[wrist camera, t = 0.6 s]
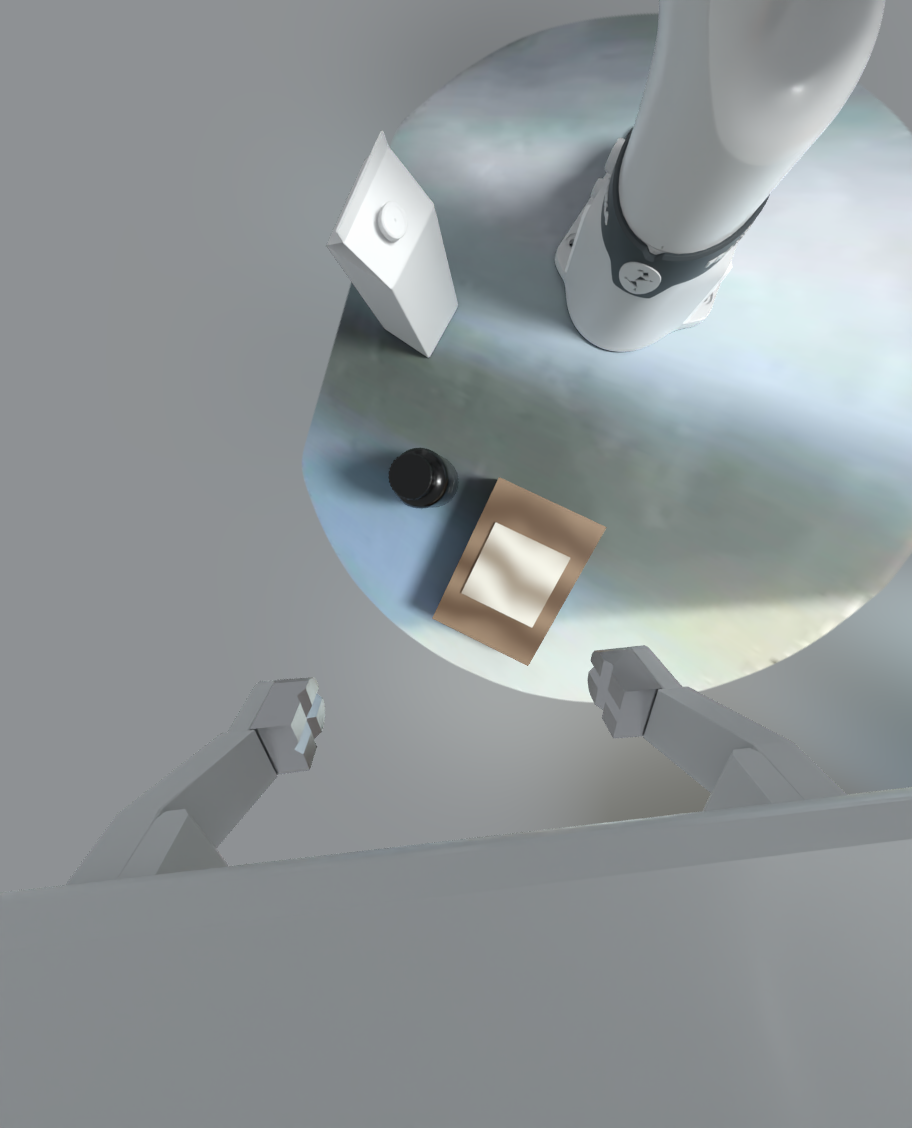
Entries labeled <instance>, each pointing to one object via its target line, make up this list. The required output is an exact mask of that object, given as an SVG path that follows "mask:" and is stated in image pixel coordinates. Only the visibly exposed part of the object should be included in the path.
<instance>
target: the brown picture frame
mask: <svg viewBox="0 0 912 1128" xmlns="http://www.w3.org/2000/svg"><path fill="white" fill-rule="evenodd" d="M606 528H607V527H605V526H603V525H600V524H598V523H596V522H594V521H592V520H590V519H588V518H585V517H583V516H581V515H579V514H577V513H575V512H573V511H570V510H568V509H566V508H564V507H562V506H560V505H558V504H555V503H553V502H551V501H549V500H547V499H545V498H543V497H540V496H538V495H536V494H534V493H532V492H530V491H528V490H525V489H523V488H521V487H519V486H517V485H515V484H513V483H510V482H508V481H506V480H504V479H502V478H500V477H499V478H498V480H497V482H496V485H495V487H494V489H493V491H492V493H491V495H490V497H489V499H488V501H487V504H486V506H485V508H484V510H483V512H482V514H481V516H480V518H479V521H478V523H477V525H476V527H475V529H474V531H473V533H472V535H471V537H470V540H469V542H468V544H467V546H466V548H465V550H464V552H463V554H462V557H461V559H460V561H459V563H458V565H457V567H456V569H455V571H454V573H453V576H452V578H451V580H450V582H449V584H448V586H447V588H446V590H445V593H444V595H443V597H442V599H441V601H440V603H439V605H438V607H437V609H436V612H435V614H434V616H433V618H432V619H434V620H436V621H438V622H440V623H443V624H445V625H447V626H449V627H451V628H453V629H455V630H457V631H459V632H461V633H463V634H465V635H467V636H469V637H471V638H473V639H475V640H477V641H479V642H481V643H483V644H485V645H487V646H489V647H491V648H493V649H495V650H497V651H499V652H501V653H503V654H505V655H507V656H509V657H511V658H513V659H515V660H517V661H519V662H521V663H523V664H525V665H527V666H528V665H529V664H530V662H531V660H532V658H533V657H534V655H535V653H536V651H537V649H538V648H539V646H540V644H541V642H542V641H543V639H544V637H545V635H546V634H547V632H548V630H549V628H550V626H551V625H552V623H553V621H554V619H555V618H556V616H557V614H558V612H559V611H560V609H561V607H562V605H563V604H564V602H565V600H566V598H567V596H568V595H569V593H570V591H571V589H572V588H573V586H574V584H575V582H576V581H577V579H578V577H579V575H580V573H581V572H582V570H583V568H584V566H585V565H586V563H587V561H588V559H589V558H590V556H591V554H592V552H593V550H594V549H595V547H596V545H597V543H598V542H599V540H600V538H601V536H602V535H603V533H604V531H605V529H606Z"/></svg>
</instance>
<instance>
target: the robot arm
mask: <svg viewBox="0 0 912 1128" xmlns="http://www.w3.org/2000/svg"><path fill="white" fill-rule="evenodd" d="M884 4H885V0H659V23H658V32H657V39H656V45H655V50H654V54H653V58H652V62H651V66H650V70H649V74H648V78H647V82H646V86H645V89H644V93H643V97H642V100H641V104H640V107H639V111H638V114H637V117H636V120H635V124H634V127H633V128H632V130H631V131H630V133H629V134H628V136H627V138H626V140H625V139H623V138H619V139H618V140H617V142H616V143H615V145H614V147H613V148H612V150H611V152H610V155H609V157H608V159H607V162H606V165H605V171H606V172H607V173H606V174H605V176H604V177H603V179H602V178H598V180H597V181H596V183H595V185H594V187H593V189H592V192H591V197H590V199H589V200H588V202H587V203H586V205H585V207H584V208H583V210H582V211H581V213H580V214H579V216H578V217H577V219H576V220H575V222H574V223H573V225H572V226H571V228H570V229H569V231H568V232H567V234H566V236H565V237H564V239H563V240H562V242H561V243H560V245H559V246H558V248H557V251H556V254H555V258H554V260H555V265H556V268H557V270H558V272H559V274H560V275H561V277H562V279H563V281H564V284H565V289H566V300H567V306H568V311H569V314H570V317H571V319H572V321H573V323H574V325H575V327H576V328H577V330H578V331H579V332H580V333H581V335H582V336H583V337H584V338H586V339H587V340H588V341H589V342H591V343H592V344H594V345H596V346H598V347H600V348H603V349H606V350H610V351H616V352H627V351H634V350H639V349H642V348H645V347H647V346H650V345H652V344H654V343H656V342H657V341H659V340H661V339H662V338H664V337H665V336H667V335H668V334H670V333H672V332H673V331H675V330H679V329H684V328H688V327H692V326H695V325H698V324H700V323H702V322H703V321H704V320H705V319H706V317H707V316H708V315H709V313H710V312H711V309H712V306H713V304H714V301H715V298H716V295H717V292H718V289H719V286H720V284H721V281H722V280H723V279H724V278H725V277H726V276H727V274H728V273H729V271H730V270H731V268H732V264H731V260H732V258H733V256H734V253H735V250H736V247H737V244H738V242H739V240H740V239H741V238H742V237H743V236H744V234H745V233H746V232H747V230H748V229H749V228H750V227H751V225H752V223H753V222H754V220H755V219H756V217H757V216H758V215H759V213H760V212H761V210H762V209H763V207H764V205H765V204H766V202H767V200H768V197H769V195H770V193H771V192H772V191H773V190H774V189H775V188H776V186H777V185H778V184H779V183H780V182H781V181H782V179H783V178H784V177H785V176H786V175H787V174H788V172H789V171H790V170H791V169H792V168H793V167H794V165H795V164H796V163H797V162H798V161H799V160H800V158H801V157H802V156H803V155H804V154H805V153H806V151H807V150H808V149H809V148H810V147H811V146H812V144H813V143H814V142H815V141H816V140H817V139H818V138H819V136H820V135H821V134H822V133H823V132H824V131H825V129H826V128H827V127H828V126H829V124H830V123H831V122H832V121H833V120H834V118H835V117H836V116H837V114H838V113H839V111H840V110H841V108H842V107H843V106H844V104H845V102H846V101H847V99H848V97H849V96H850V94H851V93H852V91H853V89H854V88H855V86H856V84H857V82H858V80H859V78H860V76H861V74H862V72H863V70H864V68H865V66H866V64H867V62H868V59H869V57H870V55H871V52H872V49H873V47H874V44H875V41H876V38H877V35H878V32H879V28H880V24H881V20H882V15H883V10H884ZM571 243H573V246H572V247H570V246H569V244H571ZM591 662H592V664H593V666H594V667H593V668H592V669H591V670H590V671H589V674H588V687H589V692H590V695H591V697H592V699H593V701H594V703H595V705H597V706H598V707H599V708H601V709H602V710H603V715H602V719H603V720H604V722H605V724H606V726H607V728H608V730H609V732H610V733H611V735H612V737H613V738H623V737H637V736H644V737H643V738H644V739H646V740H647V741H648V742H649V743H651V744H652V745H653V746H654V747H655V748H657V749H658V750H659V751H660V752H661V753H663V754H664V755H665V756H666V757H668V758H669V759H670V760H671V761H672V762H674V763H675V764H676V765H677V766H678V767H680V768H681V769H682V770H683V771H685V772H686V773H687V774H688V775H689V776H691V777H692V778H693V779H694V780H696V781H697V782H698V783H699V784H700V785H702V786H703V787H704V788H705V789H706V790H708V791H709V792H710V793H711V795H710V797H709V799H708V801H707V803H706V805H705V807H704V810H703V812H695V813H686V814H677V815H668V816H659V817H651V818H643V819H633V820H625V821H617V822H607V823H599V824H591V825H581V826H573V827H564V828H555V829H547V830H538V831H529V832H521V833H512V834H503V835H494V836H486V837H477V838H469V839H460V840H452V841H443V842H434V843H426V844H418V845H409V846H400V847H392V848H384V849H374V850H366V851H357V852H349V853H340V854H331V855H323V856H314V857H305V858H297V859H288V860H279V861H271V862H262V863H254V864H245V865H237V866H228V864H227V862H226V861H225V860H224V858H223V857H222V856H221V854H220V853H219V852H218V851H217V849H216V848H217V847H218V846H219V845H220V844H221V842H222V841H223V840H224V839H225V838H226V836H227V835H228V834H229V833H230V832H231V831H232V829H233V828H234V827H235V826H236V825H237V823H238V822H239V821H240V820H241V819H242V818H243V816H244V815H245V814H246V813H247V812H248V811H249V809H250V808H251V807H252V806H253V805H254V804H255V802H256V801H257V800H258V799H259V798H260V797H261V795H262V794H263V793H264V792H265V791H266V789H267V788H268V787H269V786H270V785H271V784H272V782H273V781H274V780H275V779H276V778H277V775H278V774H285V773H292V772H300V771H308V770H310V768H311V765H312V761H313V758H314V755H315V752H316V748H317V745H316V743H315V740H314V739H315V738H316V737H317V736H318V735H319V734H320V733H321V732H322V729H323V725H324V720H325V706H324V701H323V698H322V697H320V696H319V695H318V694H316V693H317V690H318V687H319V686H318V684H317V682H316V679H315V678H298V679H284V680H275V681H260V682H258V683H257V684H256V685H255V686H254V687H253V689H252V691H251V692H250V694H249V696H248V698H247V699H246V701H245V703H244V704H243V706H242V708H241V710H240V711H239V713H238V715H237V716H236V718H235V720H234V722H233V724H232V725H231V727H230V729H229V730H228V732H226V733H221V734H220V735H218V736H217V737H216V738H214V739H213V740H212V741H211V742H209V743H208V744H207V745H205V746H204V747H203V748H202V749H200V750H199V751H198V752H197V753H195V754H194V755H193V756H191V757H190V758H189V759H187V760H186V761H185V762H184V763H182V764H181V765H180V766H178V767H177V768H176V769H175V770H173V771H172V772H171V773H169V774H168V775H167V776H166V777H164V778H163V779H162V780H160V781H159V782H158V783H157V784H155V785H154V786H153V787H151V788H150V789H149V790H148V791H146V792H145V793H144V794H142V795H141V796H140V797H138V798H137V799H136V800H135V801H133V802H132V803H131V804H130V805H128V806H127V807H126V808H125V809H123V810H122V811H120V812H119V813H118V814H117V815H116V816H115V818H114V819H113V821H112V822H111V823H110V825H109V826H108V827H107V829H106V830H105V831H104V833H103V834H102V836H101V837H100V838H99V840H98V841H97V842H96V844H95V845H94V846H93V848H92V849H91V851H90V852H89V853H88V855H87V856H86V857H85V859H84V860H83V862H82V863H81V864H80V866H79V867H78V868H77V870H76V871H75V873H74V874H73V875H72V877H71V878H70V879H69V881H68V882H67V884H66V885H63V886H54V887H45V888H37V889H28V890H19V891H10V892H2V893H0V1128H912V787H910V788H901V789H892V790H883V791H875V792H866V793H857V794H849V795H847V794H846V793H845V792H844V791H843V790H842V789H841V788H840V787H839V786H838V785H837V784H836V783H835V782H834V781H833V780H832V779H831V778H830V777H829V776H827V774H826V773H825V772H824V771H822V770H821V769H820V768H819V767H818V766H817V765H816V764H815V763H814V762H813V761H812V760H811V759H810V758H809V757H808V756H807V755H806V754H805V753H804V752H803V751H802V750H801V749H800V748H799V747H798V746H797V745H796V744H795V743H794V742H792V741H790V740H789V739H786V738H785V737H783V736H781V735H779V734H777V733H775V732H773V731H771V730H769V729H767V728H766V727H764V726H762V725H760V724H758V723H756V722H754V721H752V720H750V719H749V718H747V717H745V716H743V715H741V714H739V713H737V712H735V711H733V710H731V709H729V708H727V707H726V706H724V705H722V704H720V703H718V702H716V701H714V700H712V699H710V698H709V697H707V696H705V695H703V694H701V693H699V692H697V691H695V690H693V689H691V688H690V687H682V686H681V685H680V683H679V682H678V681H677V680H676V679H675V678H674V676H673V675H672V674H671V673H670V672H669V671H668V669H667V668H666V667H665V666H664V665H663V664H662V662H661V661H660V660H659V659H658V658H657V657H656V655H655V654H654V653H653V652H652V651H651V650H650V649H649V648H648V647H647V646H645V645H644V646H634V647H627V648H616V649H606V650H597V651H594V652H593V653H592V657H591Z"/></svg>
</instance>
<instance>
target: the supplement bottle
mask: <svg viewBox="0 0 912 1128" xmlns="http://www.w3.org/2000/svg"><path fill="white" fill-rule="evenodd" d="M389 482H390V485H391V487H392V489H393V490H394V492H395V494H396V496H397V497H398V498H399V499H400V500H401V501H402V502H403V503H404V504H406V505H408V506H410V507H413V508H432V507H439V506H442V505H445V504H446V503H448V502H449V501H450V500H451V499H452V498H453V497H454V496H455V494H456V492H457V489H458V475H457V472H456V470H455V468H454V466H453V465H452V464H451V463H450V462H449V461H448V460H446V459H445V458H443V457H442V456H440V455H438V454H437V453H435V452H433V451H431V450H429V449H425V448H414V449H410V450H408V451H406V452H404V453H403V454H402V455H400V456H399V457H397V458H396V460H394V462H393V463H392V464H391V467H390V471H389Z"/></svg>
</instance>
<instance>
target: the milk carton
mask: <svg viewBox="0 0 912 1128" xmlns="http://www.w3.org/2000/svg"><path fill="white" fill-rule="evenodd" d="M326 246H327V248H328V249H329V250H330V252H331V253H332V255H333V256H334V257H335V259H336V260H337V262H338V263H339V264H340V266H341V267H342V269H343V270H344V272H345V273H346V275H347V276H348V277H349V279H350V280H351V282H352V283H353V285H354V286H355V287H356V289H357V290H358V292H359V293H360V295H361V296H362V297H363V299H364V300H365V302H366V303H367V305H368V306H369V307H370V309H371V310H372V312H373V313H374V315H375V316H376V317H377V319H378V320H379V322H380V323H381V325H382V326H383V327H384V329H386V330H387V331H389V332H390V333H392V334H393V335H395V336H396V337H398V338H399V339H401V340H402V341H404V342H405V343H407V344H408V345H410V346H411V347H413V348H414V349H416V350H417V351H419V352H420V353H422V354H423V355H425V356H426V357H428V358H429V357H430V356H431V354H432V352H433V351H434V349H435V347H436V345H437V343H438V342H439V340H440V338H441V336H442V334H443V333H444V331H445V329H446V327H447V325H448V324H449V322H450V320H451V318H452V316H453V315H454V313H455V311H456V309H457V307H458V302H457V297H456V293H455V289H454V285H453V281H452V277H451V273H450V268H449V264H448V260H447V256H446V252H445V248H444V244H443V239H442V235H441V231H440V227H439V223H438V219H437V215H436V211H435V207H434V203H433V202H432V201H431V199H430V198H429V197H428V196H427V194H426V193H425V192H424V190H423V189H422V188H421V187H420V185H419V184H418V183H417V182H416V180H415V179H414V178H413V177H412V175H411V174H410V173H409V171H408V170H407V169H406V168H405V166H404V165H403V164H402V163H401V161H400V160H399V159H398V157H397V156H396V155H395V154H394V152H393V151H392V150H391V149H390V147H389V146H388V143H387V141H386V137H385V134H384V132H383V131H381V132H380V134H379V136H378V138H377V141H376V143H375V145H374V147H373V149H372V152H371V154H370V156H369V157H367V158H366V159H365V160H364V162H363V164H362V167H361V169H360V171H359V173H358V175H357V177H356V180H355V182H354V184H353V187H352V189H351V191H350V193H349V195H348V197H347V200H346V202H345V204H344V207H343V209H342V211H341V213H340V216H339V217H338V220H337V222H336V224H335V226H334V229H333V231H332V233H331V235H330V238H329V240H328V242H327V245H326Z"/></svg>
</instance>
